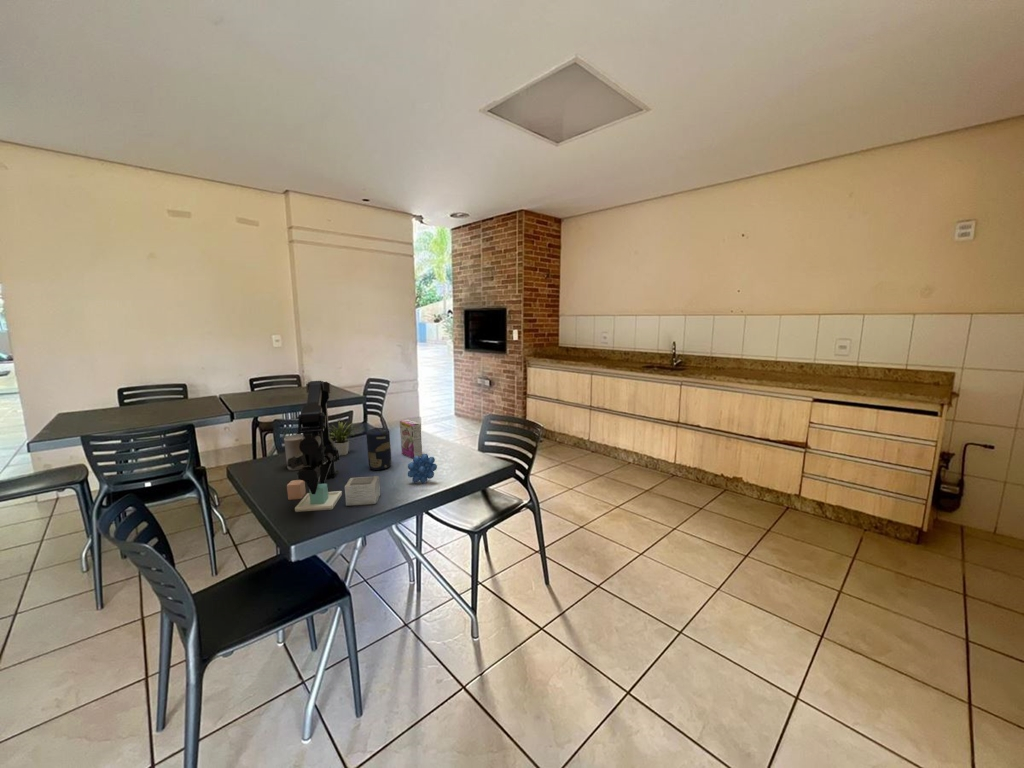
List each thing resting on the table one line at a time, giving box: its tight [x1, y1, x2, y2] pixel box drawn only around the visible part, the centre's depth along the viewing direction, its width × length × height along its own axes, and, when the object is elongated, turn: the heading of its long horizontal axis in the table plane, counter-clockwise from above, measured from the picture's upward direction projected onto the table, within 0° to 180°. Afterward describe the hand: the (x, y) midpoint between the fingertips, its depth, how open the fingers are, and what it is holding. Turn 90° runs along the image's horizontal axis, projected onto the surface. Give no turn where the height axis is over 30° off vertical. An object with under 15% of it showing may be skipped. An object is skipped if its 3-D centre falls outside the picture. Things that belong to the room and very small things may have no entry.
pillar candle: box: [283, 433, 310, 471], centre depth 180 cm, size 10×10×15 cm
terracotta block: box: [286, 479, 307, 501], centre depth 150 cm, size 4×4×6 cm
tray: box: [294, 490, 343, 513], centre depth 144 cm, size 12×12×1 cm
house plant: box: [329, 421, 356, 457], centre depth 195 cm, size 14×14×16 cm
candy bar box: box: [399, 419, 423, 459], centre depth 193 cm, size 11×5×16 cm, turn 45°
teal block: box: [308, 483, 329, 504], centre depth 144 cm, size 4×4×6 cm
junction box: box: [344, 475, 381, 507], centre depth 146 cm, size 8×10×7 cm
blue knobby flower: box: [407, 453, 438, 484], centre depth 161 cm, size 12×7×12 cm, turn 92°
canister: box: [365, 427, 392, 471], centre depth 177 cm, size 10×10×18 cm
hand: (318, 488), depth 143 cm, fingers open, 9 cm apart
